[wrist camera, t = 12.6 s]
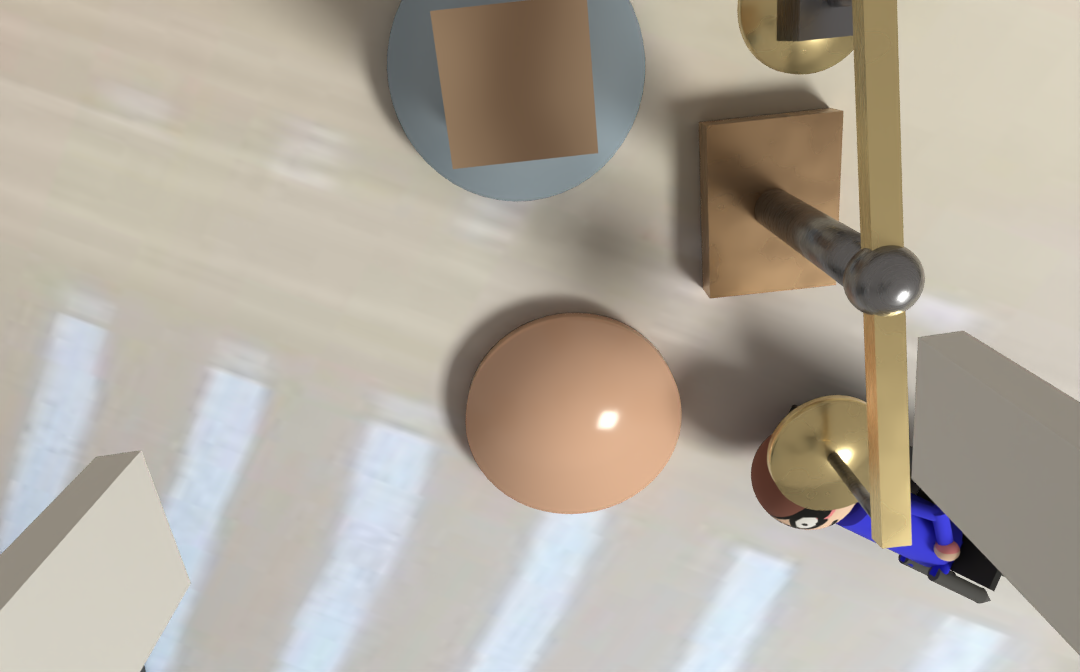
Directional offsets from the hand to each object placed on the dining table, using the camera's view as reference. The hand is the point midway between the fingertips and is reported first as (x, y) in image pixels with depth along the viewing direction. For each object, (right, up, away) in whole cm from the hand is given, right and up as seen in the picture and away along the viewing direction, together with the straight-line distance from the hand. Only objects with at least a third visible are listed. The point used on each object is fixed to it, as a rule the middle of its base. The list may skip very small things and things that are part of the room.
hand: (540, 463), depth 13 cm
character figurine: (+18, -5, +29) cm, 34 cm away
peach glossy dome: (+2, -2, +27) cm, 27 cm away
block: (-1, +13, +20) cm, 24 cm away
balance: (+11, +9, +23) cm, 27 cm away
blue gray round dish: (-1, +14, +21) cm, 25 cm away
